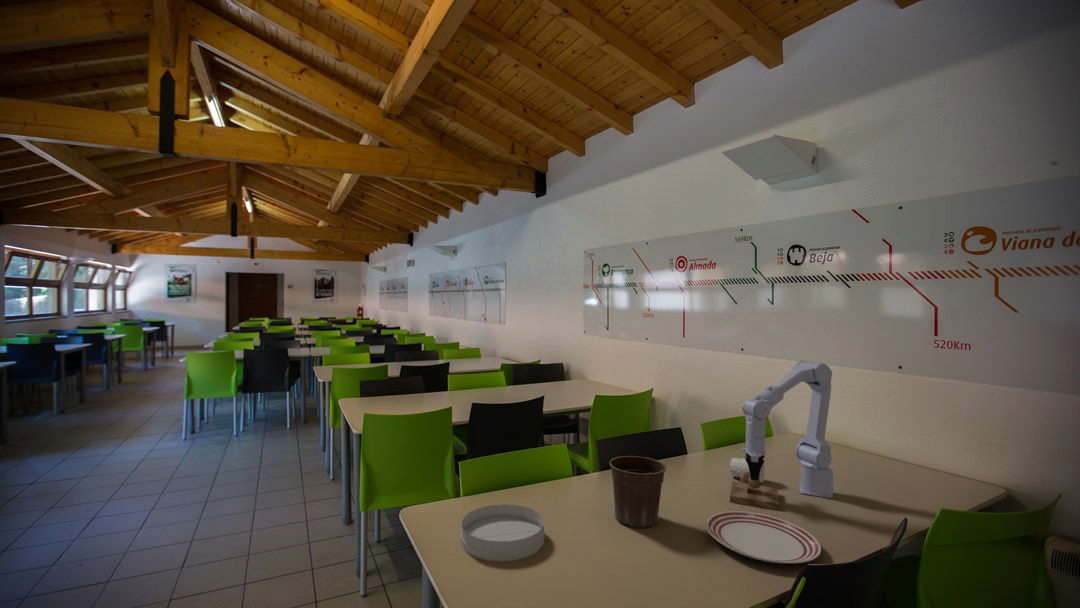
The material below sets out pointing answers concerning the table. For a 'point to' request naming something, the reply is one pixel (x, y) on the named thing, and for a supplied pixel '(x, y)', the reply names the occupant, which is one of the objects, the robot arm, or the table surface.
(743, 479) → the short dowel
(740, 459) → the white cup
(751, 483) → the long dowel
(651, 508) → the plant pot
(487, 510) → the dish
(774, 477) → the table surface
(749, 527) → the dinner plate
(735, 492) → the wooden board with hole
